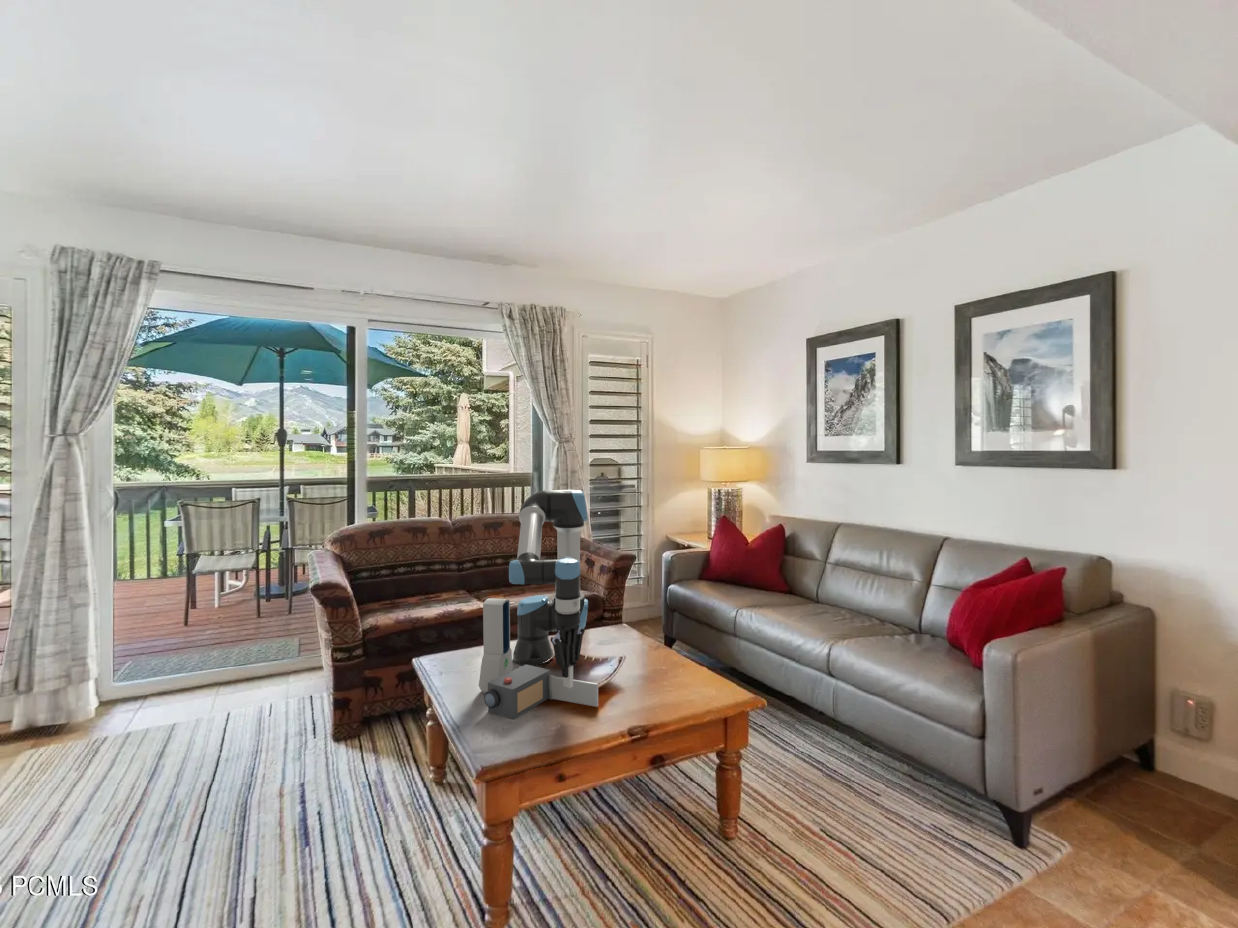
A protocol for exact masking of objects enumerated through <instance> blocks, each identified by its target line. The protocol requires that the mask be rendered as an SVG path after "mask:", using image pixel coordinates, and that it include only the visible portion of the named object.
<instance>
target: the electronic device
mask: <svg viewBox="0 0 1238 928" xmlns="http://www.w3.org/2000/svg"><path fill="white" fill-rule="evenodd" d="M510 606H511V601H510V599H508V598H493V597H491V598H486V599H485V600H484V602H483V603H482V610H483V612H482V614H483V615H482V618H483V619H482V620H483V621H482V624H483V625H482V627H483V629H482V631H483V632H482V633H483V637H482V638H483V654H482V658H481V664H480V672H479V681H478V687H479V689H480V690H481V692H482V694H485V693H486V692H487V691H488V682H490V681H492V680H495V679H497V678H499V677H501V676H503V675H505V674H507V673H509V672H511V671H513V653H512V652H513V651H512V648H511V616H510V615H511V611H510V610H511V609H510Z"/></svg>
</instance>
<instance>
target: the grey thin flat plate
mask: <svg viewBox="0 0 1238 928" xmlns="http://www.w3.org/2000/svg"><path fill="white" fill-rule="evenodd" d="M549 700H557V701H562V702H569V703H573V704H574V703H575V704H580V705H585V706H590V707H591V706H592V707H595V708H596V707H597V708H598V706H599V683H598V682H597V683H596V682H592V681H586V680H579V679H574V678H573V687H572V688H568V687H565V686H563V677H560V676H555V675H554V674H550V676H549Z"/></svg>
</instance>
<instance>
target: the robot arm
mask: <svg viewBox="0 0 1238 928" xmlns="http://www.w3.org/2000/svg"><path fill="white" fill-rule="evenodd" d="M518 520H519V522H520V529H519V539H518V547H517V556H516V559H514V560H510V562H509V565H508V580H509V583H510V584H512V585H521V586H522V585H538V584H539V585H541V584H545V585H547V584H555V585H554V586H555V587H554V588H555V589H554V590H555V593H554V595H553V599H549V597H548V596H547V595H542V594H539V595H532V596H528V597H525V598H523V599H521V600H520V601H519V602H518V604H517V612H516V616H517V641H516V643H515V647H514V651H513V653H512V661H513V662H514V663H516V664H518V665H521V666H524V665H526V664H527V665H531V666H538V665H537V664H540V665H542V664H541V663H543V662H545V661H547V660H548V659H550V658H551V657H552V656H553V657H554V656H555V663H556V666H558V667H560V668H561V674H562V675H561V676H562V678H563V686H565V687H568V688H572V687H573V679H574V675H575V666H578V663H577V662H579V660H580V656H581V649H582V644H583V643H582V642H583V637H584V635H585V632H586V629H585V628H586V624H587V620H588V618H587V617H588V609H589V600H588V599H586V598H585V594H584V593H583V592H582V591H581V529H583V527H585V522H587V521H588V520H589V517H588V511H587V505H586V497H585V493H584V491H582V490H580V489H579V490H578V489H576V490H575V489H558V490H557V489H556V490H555V489H553V490H552V489H551V490H550V489H549V490H548V489H547V490H545V489H544V490H540V491H536V492H535V493H533V494H531V495H530V496H529V497H528V498H527V499H526V500H524V502H523V503H522V505H521V507H520V508H519V513H518ZM545 522H552V526H553V528H554V529H556V532H557V533H556V534H557V537H556V540H557V542H556V545H557V546H556V547H557V548H556V549H557V551H556V552H557V556H556V557H557V559H556V558H555V559H541V552H542V537H543V536H542V535H543V525H544V523H545ZM549 632H556V634H555V635H554V637H553V636H551V637H550V638H549ZM551 643H552V645H551ZM552 647H553V649H552Z"/></svg>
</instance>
